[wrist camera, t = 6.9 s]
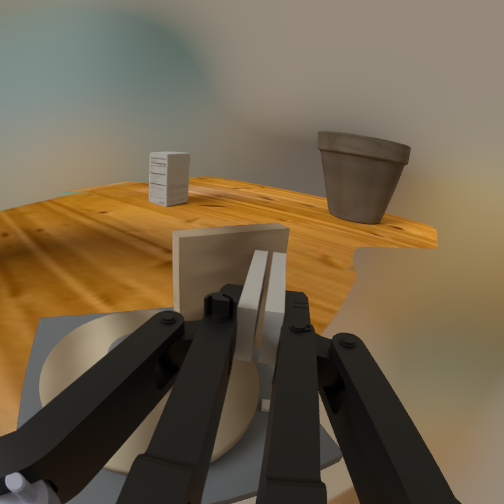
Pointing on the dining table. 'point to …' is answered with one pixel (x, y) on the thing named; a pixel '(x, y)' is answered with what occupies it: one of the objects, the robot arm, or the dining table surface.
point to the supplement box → (169, 178)
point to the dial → (192, 308)
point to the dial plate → (220, 471)
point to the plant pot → (360, 174)
